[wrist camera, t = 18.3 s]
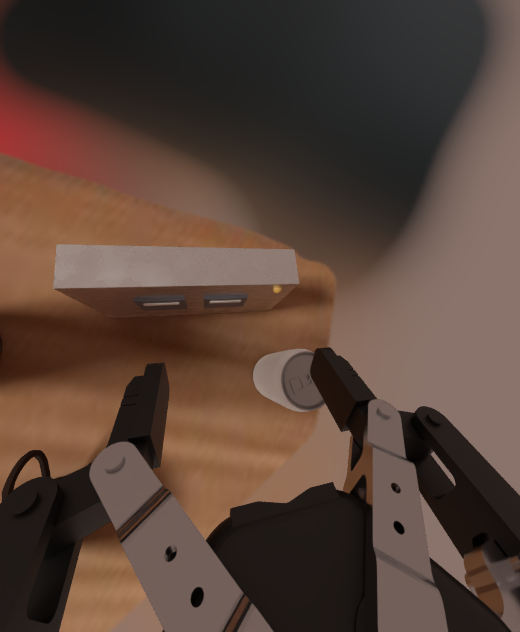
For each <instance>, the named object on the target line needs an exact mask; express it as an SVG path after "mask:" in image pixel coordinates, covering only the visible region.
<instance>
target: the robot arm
mask: <svg viewBox="0 0 520 632" xmlns="http://www.w3.org/2000/svg"><path fill="white" fill-rule="evenodd" d="M0 350H1V340H0ZM310 374H311V378H312V380H313V382H314V383H315V385H316V387H317V389H318V391H319V393H320V394H321V396H322V398H323V400H324V402H325V403H326V405H327V407H328V409H329V411H330V412H331V414H332V416H333V418H334V419H335V422H336V423H337V425H338V427H339V429H340V431H341V432H343V431H348V430H350V432H351V434H352V435H351V437H350V447H349V458H348V469H347V477H346V480H345V484H344V487H343V491H339V490H336V488H335V486H334V484H333V482H331V483H327V484H323V485H320V486H315V487H311V488H309V489H307V490H306V491H305V492H303V493H302V494H300V495H299V496H297V497H296V498H295V499H293V500H291V501H290V502H288V503H273V502H254V503H250V504H246V505H242V506H238V507H235V508H231V509H230V517H229V518H227V519H225V520H224V521H223V522H222V523H220V524H219V525H218V526H217V527H216V528H215V529H214V530H213V531H212V533H211V534H210V535H209V537H208V538H207V539H206V540H205V539H204V538H203V536H202V535H201V533H200V532H199V531H198V529H197V528H196V527H195V525H194V524H193V522H192V521H191V520H190V518H189V517H188V515H187V514H186V513H185V511H184V510H183V508H182V507H181V506H180V504H179V503H178V501H177V500H176V499H175V497H174V496H173V495H172V493H171V492H170V491H169V490H168V489H166V488H165V487H164V486H163V485H162V484H161V482H160V481H159V479H158V478H157V477H156V475H155V474H154V472H153V471H152V469H153V468H158V467H160V465H161V457H162V449H163V441H164V433H165V425H166V417H167V409H168V401H169V382H168V377H167V372H166V366H165V363H164V362H163V363H153V364H147V366H146V369H145V373H144V376H136V377H134V378H133V379H132V381H131V382H130V383H129V384H128V385H127V387H126V390H125V393H124V396H123V397H124V398H123V399H122V402H121V407H120V409H119V412H118V415H117V418H116V421H115V424H114V427H113V430H112V433H111V436H110V439H109V442H108V444H107V446H106V448H105V449H104V450H103V451H102V452H101V453H100V454H99V455H98V456H97V457H96V458H95V460H94V461H93V462H92V463H90V464H89V465H87V466H85V467H84V468H82V469H80V470H77V471H75V472H73V473H71V474H69V475H67V476H65V477H62V478H60V479H58V480H56V481H55V480H54V479H53V478H51V477H38V478H35V479H32V480H30V481H27V482H26V483H24V484H22V485H21V486H19V487H17V488H16V489H15V490H14V491H12V492H11V493H10V494H9V495H8V496H7V497H6V498H5V499H4V500H3V501H2V502H1V504H0V632H59V629H60V625H61V621H62V618H63V614H64V610H65V606H66V602H67V598H68V595H69V591H70V587H71V583H72V579H73V575H74V572H75V568H76V564H77V560H78V556H79V552H80V549H81V545H82V541H83V538H84V537H85V536H87V535H89V534H90V533H92V532H94V531H96V530H97V529H99V528H101V527H102V526H104V525H106V524H107V523H109V522H111V521H112V523H113V525H114V527H115V529H116V531H117V534H118V538H119V540H120V543H121V545H122V547H123V549H124V551H125V553H126V555H127V557H128V559H129V561H130V563H131V565H132V567H133V569H134V571H135V573H136V575H137V577H138V579H139V581H140V583H141V585H142V587H143V589H144V591H145V593H146V595H147V597H148V599H149V601H150V603H151V605H152V607H153V609H154V611H155V613H156V615H157V617H158V619H159V621H160V623H161V625H162V627H163V629H164V630H163V632H520V496H519V494H518V493H516V491H515V490H514V489H513V488H512V487H511V486H510V485H509V484H508V483H507V482H506V481H505V480H504V479H503V477H501V476H500V474H499V473H498V472H497V471H496V470H495V469H494V468H493V467H492V466H491V465H490V464H489V463H488V462H487V461H486V460H485V459H484V457H483V456H482V455H481V454H480V453H479V452H478V451H477V450H476V449H475V448H474V447H473V446H472V445H471V444H470V443H469V442H468V440H466V438H465V437H464V436H463V435H462V434H461V433H460V432H459V431H458V430H457V429H456V428H455V427H454V426H453V425H452V424H451V423H450V422H449V420H448V419H447V418H446V417H445V416H444V415H442V414H441V413H440V412H438V411H436V410H435V409H432V408H429V407H425V406H422V407H419V408H418V409H417V410H416V411H415V413H411V412H403V411H398V410H396V409H395V408H394V407H393V406H392V405H391V404H389V403H387V402H386V401H383V400H379V399H377V398H376V397H375V396H374V394H373V393H372V392H371V390H370V389H369V388H368V387H367V385H366V384H365V383H364V382H363V380H362V379H361V378H360V377H359V376H358V374H357V373H356V371H355V370H353V368H352V366H351V365H350V364H349V363H348V361H346V360H345V359H344V358H342V357H341V356H337V355H336V354H335V353H334V351H333V350H332V349H331V348H330V347H328V348H317V349H316V350H315V353H314V356H313V360H312V363H311V367H310ZM433 451H434V452H435V453H436V455H437V456H438V457H439V459H440V460H441V461H442V462H443V464H444V465H445V466H446V467H447V469H448V470H449V471H450V472H451V474H452V475H453V477H454V479H455V483H456V485H455V486H454V484H453V483H452V482H451V481H450V479H449V478H448V477H447V476H446V474H445V473H444V471H443V470H442V469H441V467H440V466H439V465H438V464H437V462H436V461H435V460H434V458H433V457H432V456H431V453H432V452H433ZM419 491H420V493H421V494H422V495H423V497H424V499H425V500H426V502H427V503H428V505H429V506H430V508H431V510H432V511H433V513H434V514H435V516H436V517H437V519H438V520H439V522H440V524H441V525H442V527H443V528H444V530H445V531H446V533H447V534H448V536H449V537H450V539H451V540H452V542H453V544H454V545H455V547H456V548H457V550H458V551H459V553H460V554H461V556H462V558H463V559H464V565H465V570H466V574H465V581H466V584H467V586H468V587H469V589H470V590H471V591H472V592H471V591H469V590H468V589H467V588H466V587H465V586H464V585H462V584H461V583H460V582H459V581H458V580H456V579H455V578H454V577H453V576H452V575H450V574H449V573H448V572H447V571H445V570H444V569H443V568H442V567H441V566H440V565H438V564H437V563H436V562H435V561H434V560H432V559H431V558H430V557H429V552H428V546H427V539H426V533H425V526H424V520H423V514H422V507H421V500H420V494H419ZM474 594H475V595H476V596H475V595H474Z"/></svg>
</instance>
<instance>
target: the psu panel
mask: <svg viewBox="0 0 520 632" xmlns="http://www.w3.org/2000/svg"><path fill="white" fill-rule="evenodd" d="M298 284H299V279H298V272H297V265H296V258H295V251H294V250H290V249H244V248H198V247H152V246H106V245H60V244H57V249H56V261H55V273H54V285H53V289H55V290H57V291H59V292H61V293H63V294H65V295H67V296H69V297H71V298H73V299H75V300H77V301H79V302H81V303H82V304H84V305H86V306H88V307H90V308H92V309H94V310H96V311H98V312H100V313H102V314H104V315H106V316H108V317H110V318H132V317H152V316H172V315H192V314H212V313H233V312H253V311H269V310H270V309H272V308H273V307H274V306H275V305H276V304H277V303H278V302H279V301H281V300H282V299H283V298H284V297H285V296H286V295H287V294H288V293H289V292H291V291H292V290H293V289H294V288H295V287H296V286H297V285H298Z"/></svg>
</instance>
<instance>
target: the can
mask: <svg viewBox="0 0 520 632" xmlns="http://www.w3.org/2000/svg"><path fill="white" fill-rule="evenodd" d="M313 356H314V352H312V351H310V350H307V349H292V350H286V351H281V352H276V353H272V354H268V355H265V356H264V357H262V358H261V359H260V360H259V361H258V362H257V363H256V365H255V367H254V371H253V381H254V385H255V387H256V389H257V390H258V391H259V392H260V393H261V394H262V395H263V396H265V397H266V398H268V399H270V400H272V401H274V402H276V403H278V404H280V405H282V406H284V407H286V408H288V409H291V410H293V411H297V412H307V411H312V410H316V409H319V408H321V407H322V406H324V405H325V404H326V403H325V402H324V400H323V398H322V396H321V394H320V393H319V391H318V389H317V387H316V385H315V383H314V382H313V380H312V378H311V374H310V367H311V363H312V360H313Z"/></svg>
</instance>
